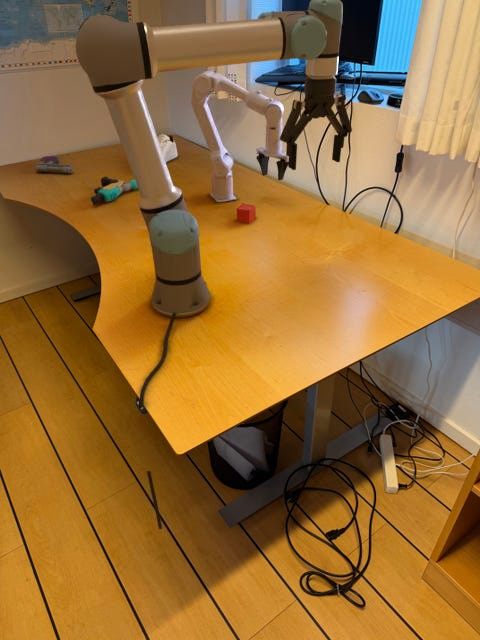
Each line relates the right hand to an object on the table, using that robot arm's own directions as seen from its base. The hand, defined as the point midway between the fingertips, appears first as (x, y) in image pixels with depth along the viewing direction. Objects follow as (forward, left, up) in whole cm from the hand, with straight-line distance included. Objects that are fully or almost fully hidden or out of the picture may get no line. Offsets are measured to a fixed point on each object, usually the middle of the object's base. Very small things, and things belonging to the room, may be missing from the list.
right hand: (272, 177), depth 175 cm
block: (+11, -16, -9) cm, 21 cm away
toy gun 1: (-73, -72, -9) cm, 102 cm away
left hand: (+45, -10, +19) cm, 50 cm away
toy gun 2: (-32, -56, -9) cm, 65 cm away
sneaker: (-61, -29, -9) cm, 68 cm away
